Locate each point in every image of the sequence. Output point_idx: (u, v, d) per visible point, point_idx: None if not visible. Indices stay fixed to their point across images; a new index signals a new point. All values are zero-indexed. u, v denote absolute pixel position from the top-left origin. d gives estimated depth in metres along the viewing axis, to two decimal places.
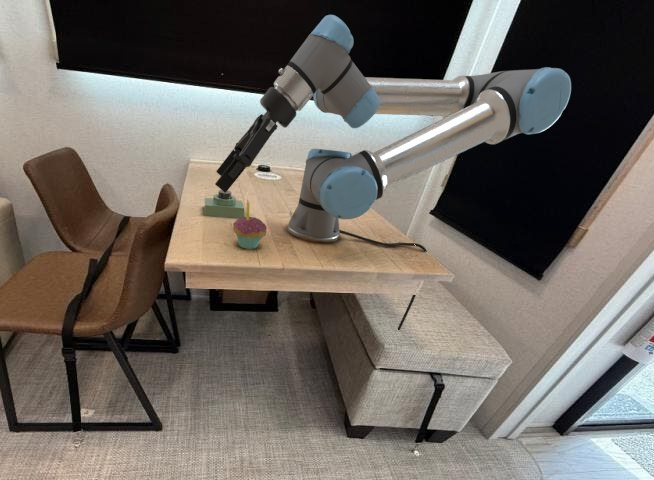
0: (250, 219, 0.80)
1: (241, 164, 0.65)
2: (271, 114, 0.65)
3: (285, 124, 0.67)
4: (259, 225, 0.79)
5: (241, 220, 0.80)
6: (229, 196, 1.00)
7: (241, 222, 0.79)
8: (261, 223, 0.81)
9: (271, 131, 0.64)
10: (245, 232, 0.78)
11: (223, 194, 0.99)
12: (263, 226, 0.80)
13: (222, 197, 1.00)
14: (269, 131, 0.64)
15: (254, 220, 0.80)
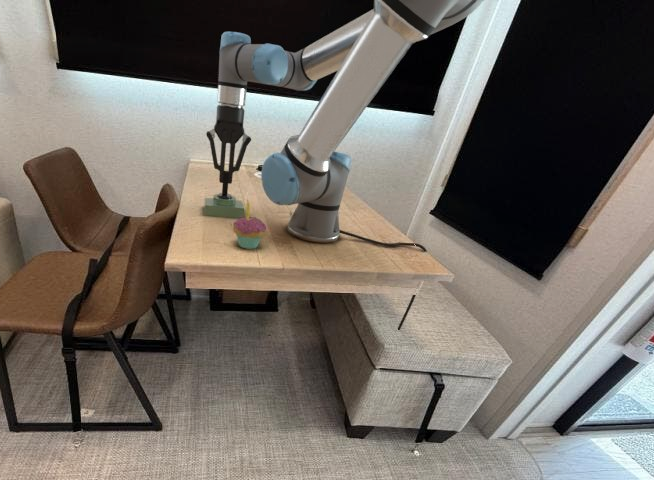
0: (250, 219, 0.80)
1: (219, 170, 0.97)
2: None
3: (221, 119, 0.88)
4: (259, 225, 0.79)
5: (241, 220, 0.80)
6: None
7: (241, 222, 0.79)
8: (261, 223, 0.81)
9: None
10: (245, 232, 0.78)
11: (223, 197, 1.00)
12: (263, 226, 0.80)
13: None
14: (209, 139, 0.92)
15: (254, 220, 0.80)
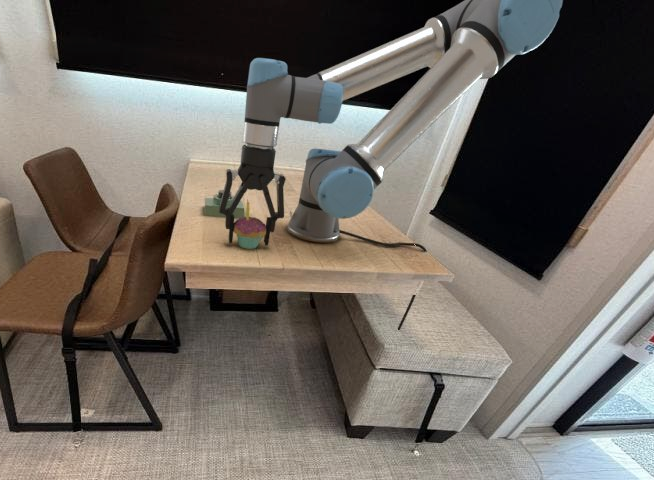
0: (250, 219, 0.80)
1: None
2: None
3: (248, 163, 0.71)
4: (259, 225, 0.79)
5: (241, 220, 0.80)
6: (229, 196, 1.00)
7: (241, 222, 0.79)
8: (261, 223, 0.81)
9: None
10: (245, 232, 0.78)
11: None
12: (263, 226, 0.80)
13: None
14: (227, 179, 0.74)
15: (254, 220, 0.80)
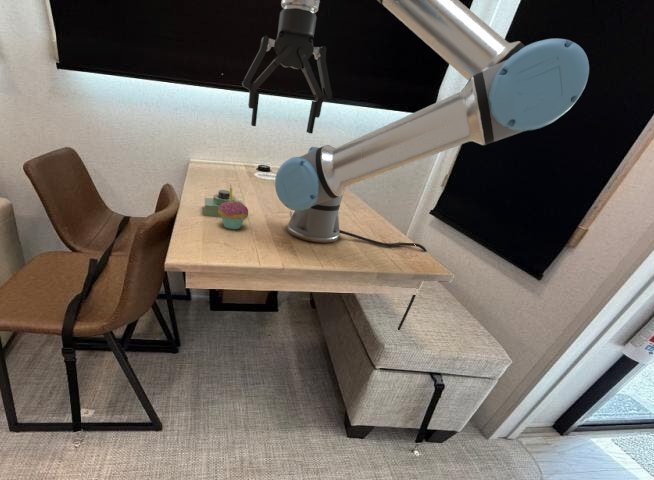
0: (233, 202, 0.90)
1: (249, 91, 0.72)
2: None
3: (287, 28, 0.65)
4: (241, 208, 0.90)
5: (225, 203, 0.90)
6: (229, 196, 1.00)
7: (225, 205, 0.90)
8: (243, 206, 0.91)
9: (261, 44, 0.67)
10: (229, 214, 0.88)
11: (223, 194, 0.99)
12: (245, 209, 0.91)
13: (222, 197, 1.00)
14: (261, 46, 0.68)
15: (237, 203, 0.90)
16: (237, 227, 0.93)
